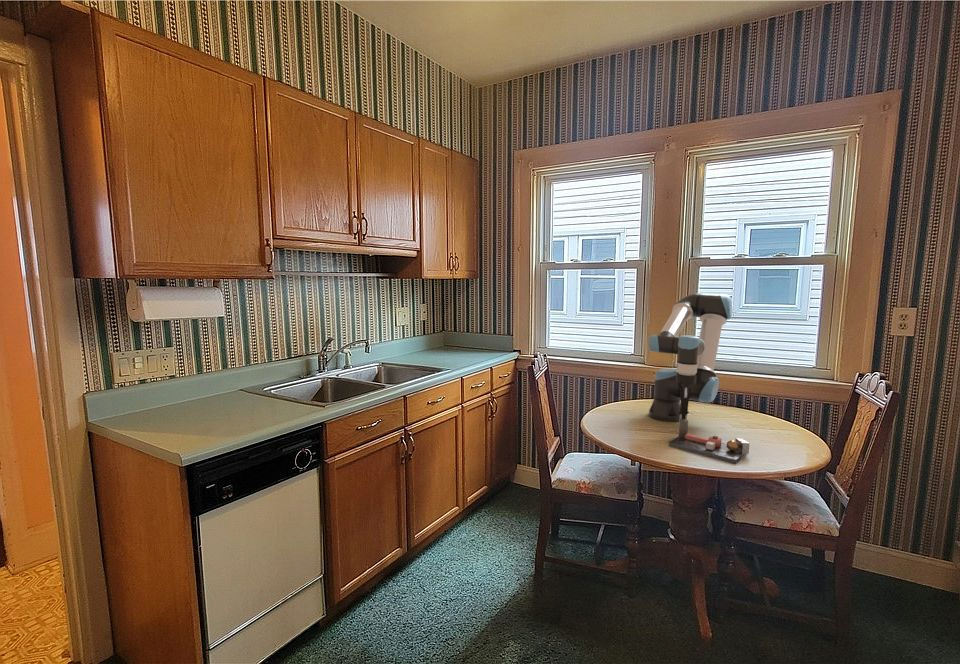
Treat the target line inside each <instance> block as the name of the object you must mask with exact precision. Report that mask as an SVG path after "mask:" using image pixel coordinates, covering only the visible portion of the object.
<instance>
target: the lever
mask: <svg viewBox="0 0 960 664" xmlns="http://www.w3.org/2000/svg"><path fill="white" fill-rule="evenodd" d="M688 429H689V419H688V418H687V419H680V423H679V425H678V436H679V437H681V438H686V439H690V440H694V441H698V442H702V443H706V449H710V450H713V449H714V448H715V447H721V443H722V438H720V437H719V436H717V435H712V436H709V437H708V438H707V437H703V436H699V435H696V434H695V435H694V434H691V433H689V432H688Z"/></svg>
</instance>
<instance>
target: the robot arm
mask: <svg viewBox="0 0 960 664" xmlns="http://www.w3.org/2000/svg"><path fill="white" fill-rule="evenodd" d="M732 316H733V307H732V298H731V296H730V295H729V294H726V293H719V294H718V293H699V292H698V293H697V292H696V293H695V292H694V293H691V294H688V295H686V296H684V297H682V298H680V299H679V300H678V301H677V302H676V303H674V305H673V307H672V309H671V314H670V316H669V317H668V318H667V321H666V323H665V324H664V326H663V327H662V329H661V330H660V332H659V333H658V334H652V335H650V336H649V339H648V350H650V352H654V353H661V354H674V355H677V357H676V359H677V360H676V361H677V363H676V364H675V366H674V368H671V367H669V368H662V369H661V368H660V369H659V370H656V372H655V374H654V383H653V384H654V387H653V389H654V390H653V400H652V402H651V405H650V408H649V410H648V416H649V417H650V418H651V419H654V420H657V421H661V422H665V423H666V422H668V423H676V422H677V423H678V422H679V423H680V419H687V420H688V414H689V413H690V412H689V401H691V400H692V401H696V402H700V403H712V402H713V401H715V398H716V397H717V394H718V391H719V386H720V379H719V378H718V377H717V373H716V372H715V371H714V370H715V364H716V360H717V354H718V348H719V344H720V339H721V334H722V327H723V326H724V325H725V324H726V323H727V321H728V320H731V319H732ZM691 318H699V321H700V322H701V328H700V332H699V337H698V336H696V335H690V334H689V335H680V333H681V332H682V330H683V328H684V327H685V325H686V323H687V321H688V320H690V319H691ZM675 367H676V368H675Z"/></svg>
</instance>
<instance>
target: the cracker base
mask: <svg viewBox="0 0 960 664" xmlns="http://www.w3.org/2000/svg"><path fill="white" fill-rule="evenodd" d="M668 446H669V447H671V448H674V449H679V450H682V451H686V452H690V453H693V454H697V455H700V456H704V457H708V458H712V459H715V460H719V461H723V462H726V463H730V464H733V465H737V464H738V462H739V461H741V460H742V458H744V457H745V456H746V455H747V454H749V451H750V442H749V441H747V440H745V439H743V437H740V438H739V437H736V438H735V439H734V440H733V439H731V440H728V441H727V442H726V443H725V442H724V443H722V442H721V447H715V448H714V449H713V450H710V449H706V443H702V442H698V441H694V440H690V439H686V438H681V437H679V435H678V436H676V437H674V438H672V439H671V440H670V441H669V442H668Z"/></svg>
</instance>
